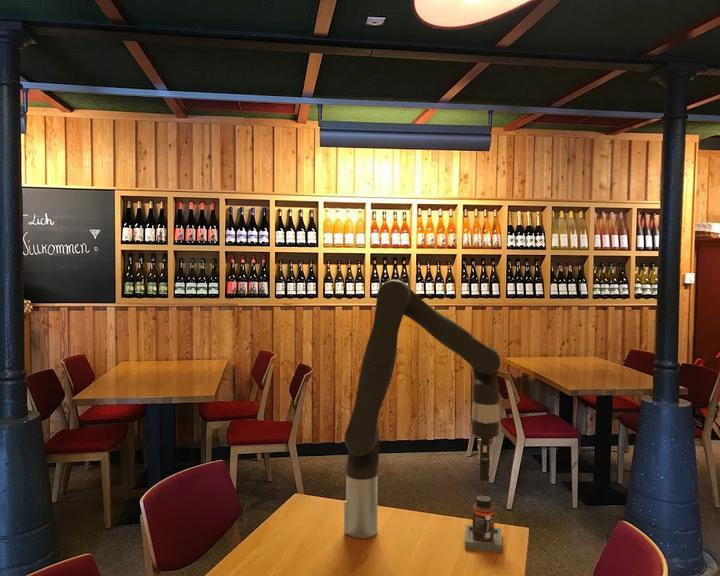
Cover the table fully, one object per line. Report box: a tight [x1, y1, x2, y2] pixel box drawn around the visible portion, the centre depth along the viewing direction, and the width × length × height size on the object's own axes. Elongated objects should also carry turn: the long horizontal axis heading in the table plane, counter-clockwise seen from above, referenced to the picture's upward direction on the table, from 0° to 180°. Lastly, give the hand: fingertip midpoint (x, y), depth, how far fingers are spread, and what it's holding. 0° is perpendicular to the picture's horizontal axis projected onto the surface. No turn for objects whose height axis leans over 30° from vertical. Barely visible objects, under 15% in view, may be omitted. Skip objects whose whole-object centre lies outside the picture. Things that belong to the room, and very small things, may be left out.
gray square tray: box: [464, 524, 503, 553], centre depth 158 cm, size 10×10×2 cm
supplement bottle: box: [472, 495, 495, 541], centre depth 157 cm, size 6×6×11 cm
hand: (484, 474), depth 157 cm, fingers open, 8 cm apart
